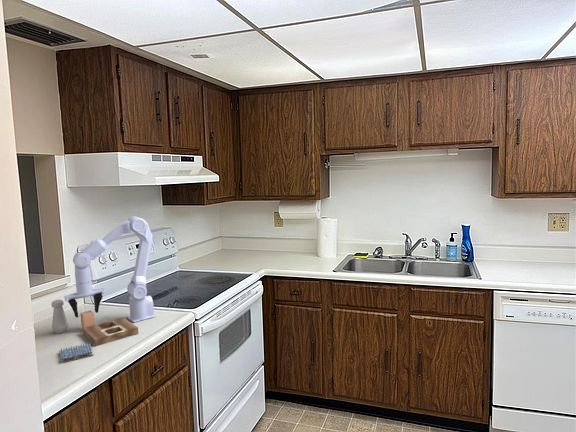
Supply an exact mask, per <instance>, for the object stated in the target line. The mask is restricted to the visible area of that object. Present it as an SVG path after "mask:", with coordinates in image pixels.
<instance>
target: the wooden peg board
mask: <svg viewBox="0 0 576 432" xmlns="http://www.w3.org/2000/svg"><path fill="white" fill-rule="evenodd" d="M127 319H128V318H126V317H120V318H115V319H111V320H108V321H105V322H101V323H97V324H95V325H93V326H89V327H85V328H83V330H82V333H83V334H82V335H84V337H86V338H87V340H89V342H91V343H92V344H93V345H94V346H95V347H97V346H102V345H105V344H108V343H111V342H114V341H118V340H121V339H125V338H128V337H132V336H135V335H139V333H140V332H139V327H138V326H137V325H135V324H134V323H133V322H132V321H129V319H128V320H127Z"/></svg>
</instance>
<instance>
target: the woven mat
mask: <svg viewBox="0 0 576 432" xmlns="http://www.w3.org/2000/svg"><path fill="white" fill-rule="evenodd" d="M58 352H59V357H60V359H59V360H60V363H61V364H65V363H68V362H73V361H75V360H81V359H85V358H88V357H93V356H94V355H95V354H94V352H93V348H92V346H91V343H85V344H79V345H75V346H70V347H68V348H67V347H65V348H63V349H62V348H60V350H59V351H58Z"/></svg>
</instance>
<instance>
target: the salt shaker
mask: <svg viewBox="0 0 576 432" xmlns="http://www.w3.org/2000/svg"><path fill="white" fill-rule="evenodd" d="M64 303H65V302H64V300H62V299H56V300H53V301H52V302H51V304H50V305H51V308H53V312H52V322H51V329H52V331H53V332H54V333H55V334H62V333H65V332H66V331H67V329H68V327H69V322H68V320H67V317H66V314H65V313H66V312H65V311H64V307H63V306H64Z"/></svg>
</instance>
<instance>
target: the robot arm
mask: <svg viewBox="0 0 576 432" xmlns="http://www.w3.org/2000/svg"><path fill="white" fill-rule="evenodd" d="M132 232H133V233H134V234H135V235H136V236H137V238H138V239H139V243H138V249H137V254H136V260H135V265H134V270H133V275H132V277H131V279H130V282H129V283H128V285H127V288H126V289H127V292H128V294H130V295H129V298H128V306H129V316H127V317H126V319H128V321H129V320H130V322H131V323H137V322H142V321H144V320H149V319H152V318H155V317H156V315H155V306H154V300H153V297H152V296H151V295H147V294H148V289H147V280H146V279H147V273H148V272H147V271H148V266H149V260H150V256H151V255H150V254H151V250H152V243H153V237H154V235H153V233H152V231H151V229H150V226H149V223H148V222H147V221H146V220H145V219H144V218H141V217H138V216H136V215H135V216H134V215H132V216H129V217H128V218H127V219H125V220H124V221H122V222H121V223H119V225H117V226H116V227H115V228H113V229H112V230H111V231H110V232H109V233H107V234H106V235H105V236H104V237H102V238H100V239H99V238H98V239H95V240H93V239H92V240H91V241H90V244H89V245H87V246H86V247H84V248H81V249H80V251H79V252H76V253H75V254H74V255H73V258H72V262H73V264H74V278H75V279H74V280H75V289H76V292H74V293H71V294H66V295H64V301H65V302H66V303H67V302H68V304H69V306H70V307H71V309H72V311H73V313H74V317H75V318H79V312H78V301H77V300H79V299H82V298H87V297H93V302H94V303H93V304H94V312H95V313H99V309H100V308H99V307H100V305H101V302H102V299H103V295H104V294H105V289H104V288H96V289H94V288H93V284H92V282H93V281H92V271H91V268H90V265H91V263H92V261H94V260H95V259H96V258H97V257H99V256H100V255H102V254H103V253H104V252H106V250H107V247H108V245H110V244H111V243H112V242H114V241H115V240H117V239H118V238H120V237H122V235H124V234H132Z"/></svg>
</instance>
